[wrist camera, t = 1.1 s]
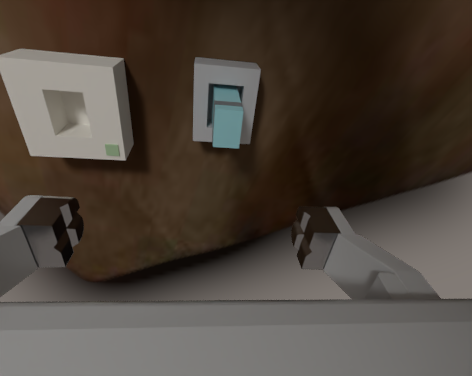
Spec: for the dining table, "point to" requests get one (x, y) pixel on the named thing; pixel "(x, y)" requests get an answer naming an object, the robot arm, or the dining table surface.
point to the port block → (69, 103)
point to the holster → (227, 74)
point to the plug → (226, 116)
